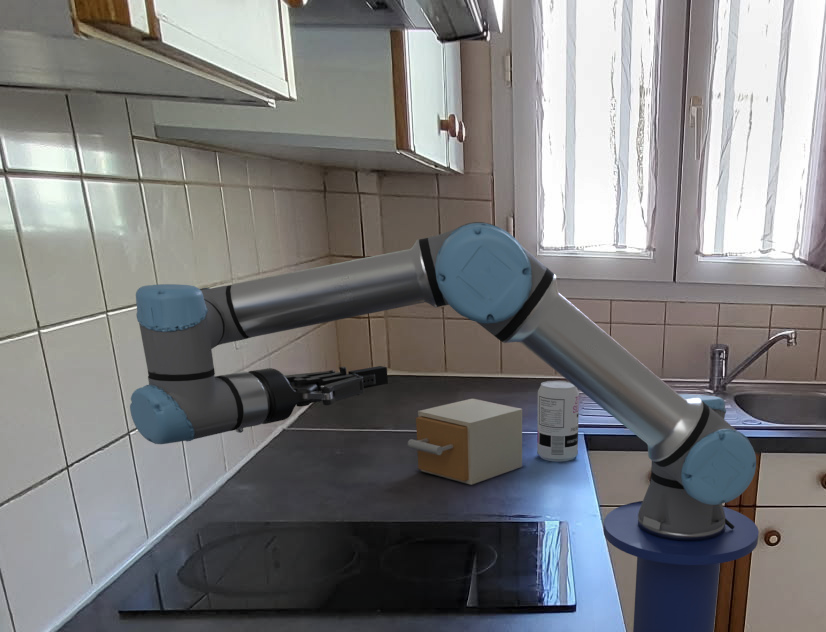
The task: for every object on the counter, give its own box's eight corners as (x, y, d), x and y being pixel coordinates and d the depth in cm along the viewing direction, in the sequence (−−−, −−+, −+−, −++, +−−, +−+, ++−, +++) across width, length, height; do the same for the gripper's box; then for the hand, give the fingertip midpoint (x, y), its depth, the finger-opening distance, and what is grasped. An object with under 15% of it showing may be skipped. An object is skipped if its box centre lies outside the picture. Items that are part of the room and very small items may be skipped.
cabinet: (471, 485, 150) (469, 422, 146) (420, 471, 156) (417, 411, 152) (522, 466, 162) (522, 408, 158) (473, 454, 168) (472, 398, 164)
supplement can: (531, 453, 171) (531, 381, 166) (568, 449, 175) (570, 379, 170) (545, 464, 165) (546, 389, 159) (583, 460, 169) (585, 387, 163)
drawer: (447, 487, 146) (445, 433, 142) (400, 474, 151) (397, 421, 147) (512, 464, 160) (512, 415, 157) (467, 453, 166) (466, 405, 162)
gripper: (228, 416, 120) (358, 391, 139) (287, 432, 114) (414, 403, 133) (221, 365, 117) (354, 346, 137) (281, 378, 111) (411, 357, 131)
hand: (384, 374), depth 135 cm, fingers closed
